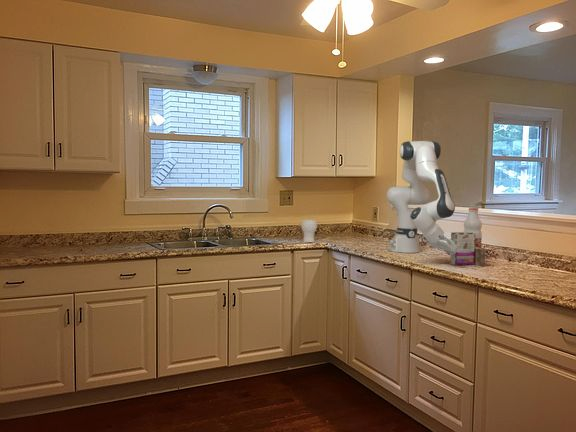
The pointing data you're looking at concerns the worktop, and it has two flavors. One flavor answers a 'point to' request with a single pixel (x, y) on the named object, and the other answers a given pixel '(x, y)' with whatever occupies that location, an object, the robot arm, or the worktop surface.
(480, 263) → the block
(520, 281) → the worktop surface
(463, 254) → the candy bar box
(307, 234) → the cup
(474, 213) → the fruit juice
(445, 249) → the robot arm
